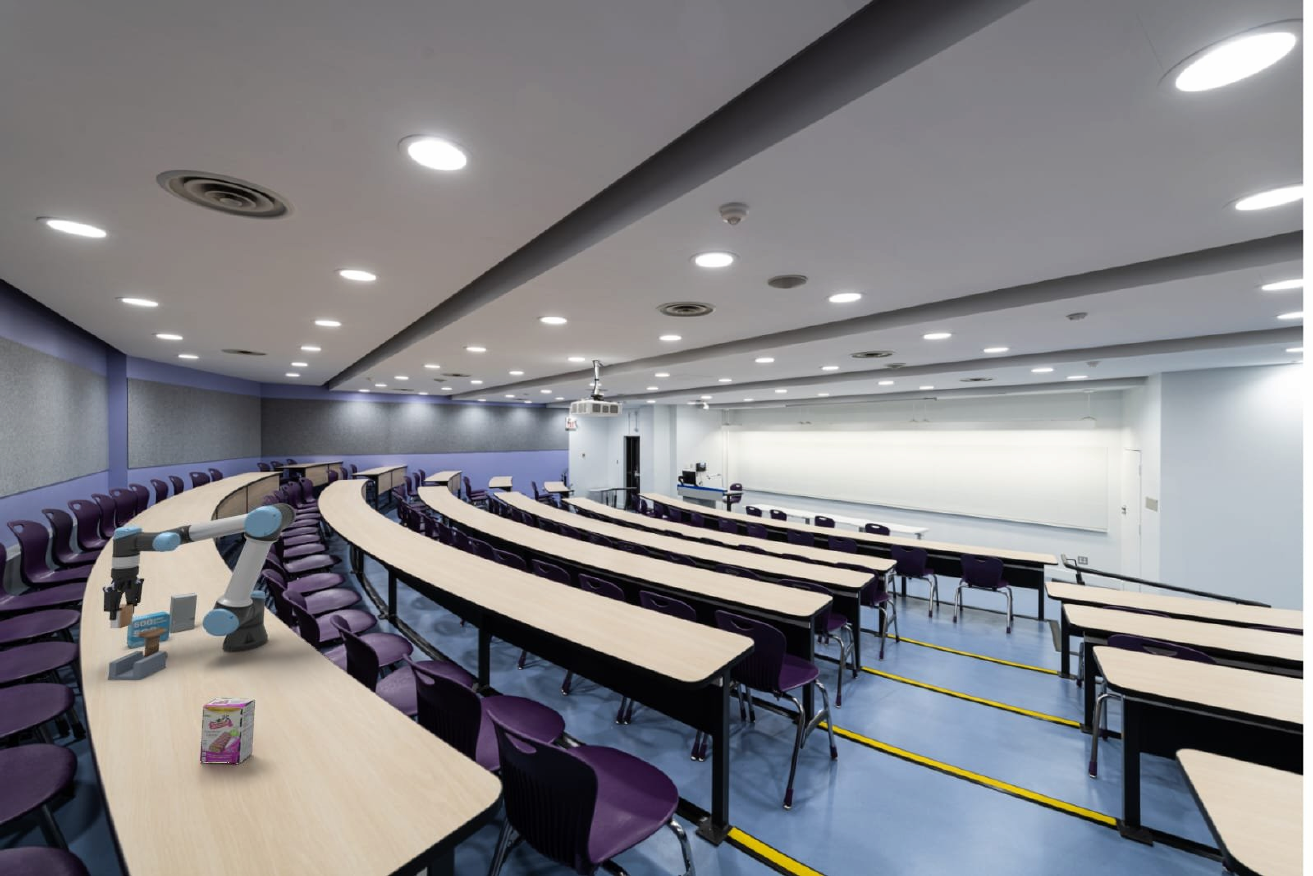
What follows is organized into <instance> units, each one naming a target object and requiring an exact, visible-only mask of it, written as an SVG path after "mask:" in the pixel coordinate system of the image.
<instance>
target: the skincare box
mask: <svg viewBox="0 0 1313 876" xmlns="http://www.w3.org/2000/svg"><path fill="white" fill-rule="evenodd" d="M197 598H198V595H197V593H195V592H191V593H189V592H188V593H181V594H173V595H170V606H169V613H168V614H169V615H170V628H169V633H171V634H174V633H178V632H185V631H188V630H192V629H195V621H196V613H197V612H196V611H197V600H198V599H197Z"/></svg>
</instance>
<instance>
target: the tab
mask: <svg viewBox="0 0 1313 876" xmlns="http://www.w3.org/2000/svg"><path fill="white" fill-rule="evenodd" d="M132 610H133V604H126V603H120V606H119V609H118V611H121V612H120V626H119V628H118V629H122V628H125V627H128V626H129V625H131V624H132ZM110 623H111V621H110Z"/></svg>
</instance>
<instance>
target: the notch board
mask: <svg viewBox="0 0 1313 876" xmlns="http://www.w3.org/2000/svg"><path fill="white" fill-rule="evenodd" d="M166 652H167V651H166V650H165V651H160V650H159V652H157V653H155V654H153V655H150V656H148V657H146V658H144V659H143V655H144V651H143V650H136V651H133V652H130V653H129V654H126V655H123V656H122V657H120V658H118V659H114V660H113V661H110V662H109V663H108V677H107V680H108V679H114V680H115V679H116V681H118V680H119V681H123V680H124V679H125V680H126V681H133V680H134V681H135V680H136V681H140V680H143V679H144V678H147V677H149V676H151V675H153V674H155V673H157V672H158V671H161V670H163V669H165V668H166V663H167V661H166V658H167V657H166ZM142 678H143V679H142ZM120 679H121V680H120ZM125 680H124V681H125Z"/></svg>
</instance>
